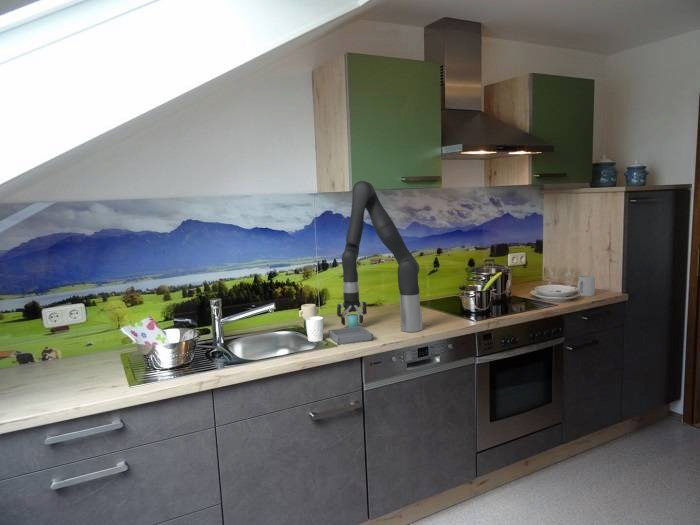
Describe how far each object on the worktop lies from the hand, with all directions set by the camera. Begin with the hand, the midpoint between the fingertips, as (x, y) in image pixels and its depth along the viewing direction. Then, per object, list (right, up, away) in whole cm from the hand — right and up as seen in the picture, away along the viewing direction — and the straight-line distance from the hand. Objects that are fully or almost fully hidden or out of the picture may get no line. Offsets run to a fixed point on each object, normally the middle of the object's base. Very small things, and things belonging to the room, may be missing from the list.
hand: (352, 323), depth 244 cm
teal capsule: (+1, -3, 0) cm, 3 cm away
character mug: (-20, -4, 0) cm, 21 cm away
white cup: (-17, -6, -15) cm, 23 cm away
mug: (+137, +10, +53) cm, 147 cm away
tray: (-1, -5, -16) cm, 17 cm away
